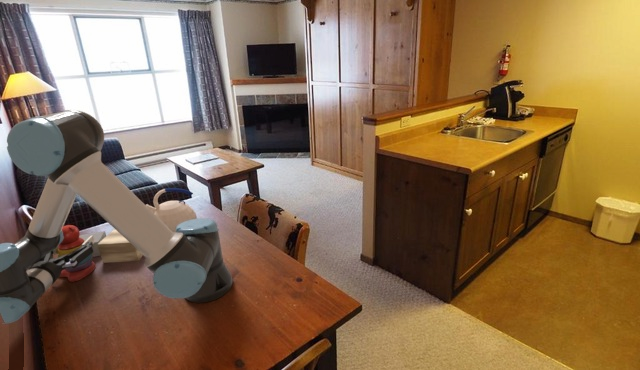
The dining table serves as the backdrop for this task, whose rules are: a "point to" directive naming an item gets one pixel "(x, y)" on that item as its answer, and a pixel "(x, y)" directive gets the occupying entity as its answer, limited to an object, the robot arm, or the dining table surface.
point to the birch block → (117, 249)
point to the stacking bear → (70, 245)
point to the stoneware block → (97, 237)
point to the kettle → (172, 210)
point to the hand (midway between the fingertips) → (78, 240)
